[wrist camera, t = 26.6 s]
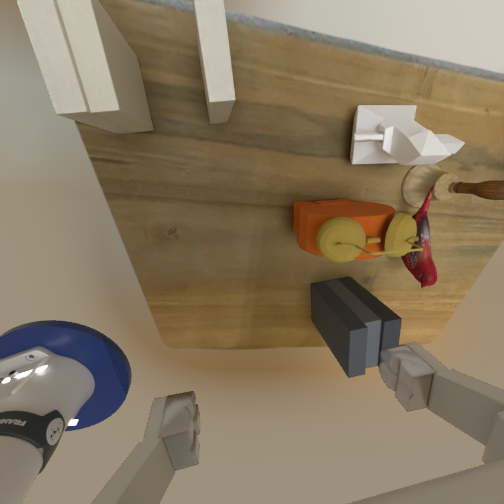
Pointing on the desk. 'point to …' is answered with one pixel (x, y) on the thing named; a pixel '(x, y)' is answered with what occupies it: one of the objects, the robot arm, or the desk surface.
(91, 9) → the white books
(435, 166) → the hand bell
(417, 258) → the decorative bird figurine
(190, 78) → the desk surface
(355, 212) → the alarm clock
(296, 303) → the desk surface
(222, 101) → the white book
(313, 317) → the grey books
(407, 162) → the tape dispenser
